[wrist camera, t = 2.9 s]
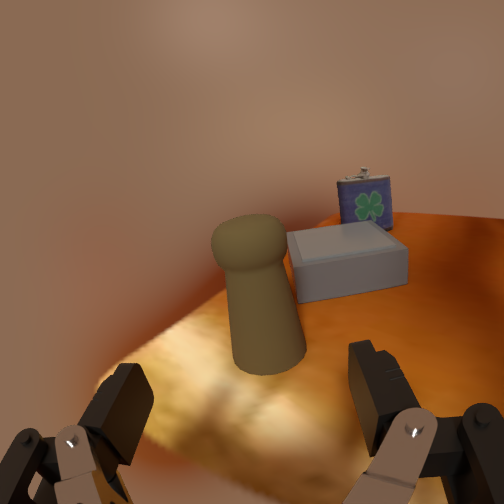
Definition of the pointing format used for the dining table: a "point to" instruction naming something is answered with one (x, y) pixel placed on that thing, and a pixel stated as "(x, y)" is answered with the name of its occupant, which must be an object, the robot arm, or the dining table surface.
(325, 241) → the gray rectangular box
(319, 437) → the dining table surface
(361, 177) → the flask
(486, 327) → the dining table surface
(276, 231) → the cork
